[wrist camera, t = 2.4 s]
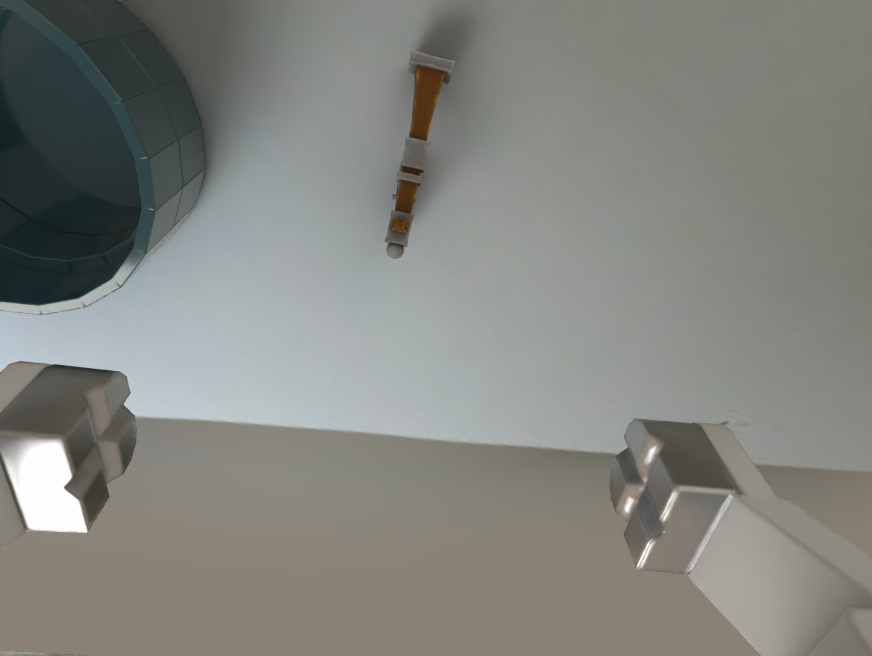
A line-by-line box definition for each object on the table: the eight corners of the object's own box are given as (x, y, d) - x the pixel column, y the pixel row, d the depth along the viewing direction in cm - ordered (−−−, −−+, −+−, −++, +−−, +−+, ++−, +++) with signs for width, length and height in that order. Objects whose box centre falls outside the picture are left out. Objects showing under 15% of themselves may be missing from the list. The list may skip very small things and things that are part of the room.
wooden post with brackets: (372, 252, 28) (371, 254, 23) (405, 81, 27) (411, 48, 22) (409, 260, 28) (416, 263, 23) (443, 90, 27) (457, 60, 22)
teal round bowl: (195, -15, 23) (126, -11, 17) (217, 265, 29) (171, 328, 24) (-136, -64, 22) (-311, -74, 17) (-38, 236, 28) (-143, 296, 23)
